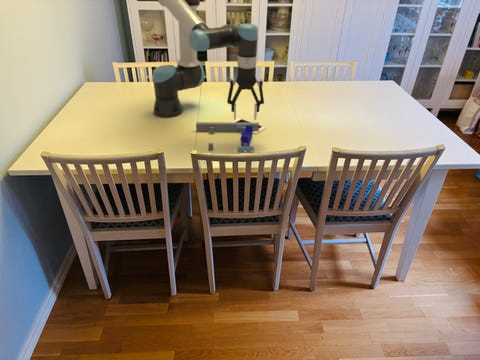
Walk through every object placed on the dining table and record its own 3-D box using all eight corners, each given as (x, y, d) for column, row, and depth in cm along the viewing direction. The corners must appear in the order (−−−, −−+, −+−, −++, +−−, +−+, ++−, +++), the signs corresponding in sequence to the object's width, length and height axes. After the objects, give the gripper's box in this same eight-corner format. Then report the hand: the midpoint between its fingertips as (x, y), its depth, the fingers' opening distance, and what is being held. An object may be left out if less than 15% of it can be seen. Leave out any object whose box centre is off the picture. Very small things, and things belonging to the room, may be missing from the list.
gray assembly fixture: (193, 152, 145) (192, 144, 143) (196, 129, 163) (196, 122, 160) (262, 152, 146) (263, 144, 144) (258, 130, 164) (258, 122, 162)
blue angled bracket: (242, 135, 159) (243, 124, 156) (252, 136, 159) (252, 125, 155) (237, 147, 149) (238, 135, 146) (247, 149, 149) (248, 136, 145)
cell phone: (238, 119, 175) (238, 117, 175) (266, 129, 166) (266, 127, 166) (227, 124, 169) (227, 122, 169) (255, 135, 160) (255, 133, 160)
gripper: (220, 68, 131) (221, 122, 144) (274, 69, 132) (269, 122, 145) (220, 63, 138) (221, 114, 151) (271, 64, 139) (267, 115, 152)
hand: (245, 118), depth 148 cm, fingers open, 8 cm apart
